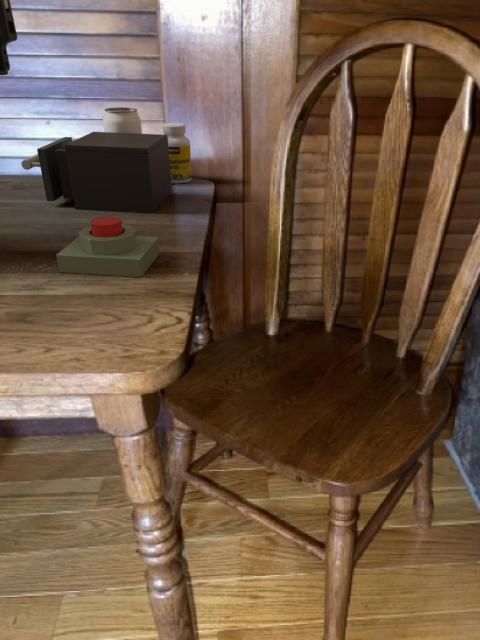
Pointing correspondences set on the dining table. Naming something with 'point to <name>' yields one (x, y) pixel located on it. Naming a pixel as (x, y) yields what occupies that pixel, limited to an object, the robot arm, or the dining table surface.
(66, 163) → the drawer
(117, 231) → the button
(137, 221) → the dining table surface
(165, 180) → the dark grey storage box
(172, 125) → the supplement bottle
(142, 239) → the control block
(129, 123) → the can
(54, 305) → the dining table surface
